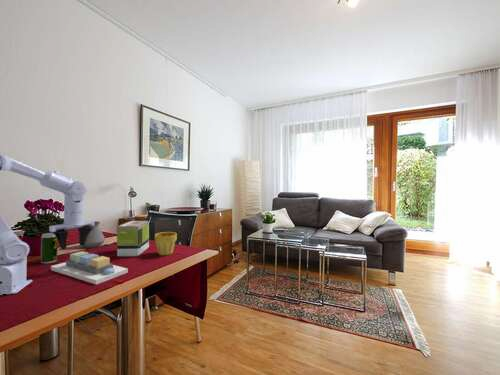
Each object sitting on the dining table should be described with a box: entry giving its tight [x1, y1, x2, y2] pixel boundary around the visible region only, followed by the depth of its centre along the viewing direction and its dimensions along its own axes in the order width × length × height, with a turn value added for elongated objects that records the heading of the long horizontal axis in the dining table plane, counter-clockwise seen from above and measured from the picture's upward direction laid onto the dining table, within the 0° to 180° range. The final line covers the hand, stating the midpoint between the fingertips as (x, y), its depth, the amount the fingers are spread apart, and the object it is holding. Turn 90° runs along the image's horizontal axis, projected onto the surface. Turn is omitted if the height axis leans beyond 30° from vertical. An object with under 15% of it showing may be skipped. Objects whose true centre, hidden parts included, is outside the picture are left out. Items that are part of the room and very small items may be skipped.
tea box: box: [116, 220, 150, 257], centre depth 114 cm, size 15×10×15 cm, turn 5°
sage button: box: [69, 251, 90, 262], centre depth 90 cm, size 4×4×3 cm
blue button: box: [80, 253, 100, 265], centre depth 88 cm, size 4×4×3 cm
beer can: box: [40, 232, 59, 265], centre depth 97 cm, size 5×5×12 cm
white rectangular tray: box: [50, 259, 129, 285], centre depth 88 cm, size 28×12×4 cm, turn 66°
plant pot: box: [154, 231, 178, 256], centre depth 112 cm, size 10×10×10 cm
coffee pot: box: [82, 220, 106, 249], centre depth 118 cm, size 21×12×15 cm, turn 35°
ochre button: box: [90, 255, 111, 268], centre depth 85 cm, size 4×4×3 cm
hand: (72, 247), depth 87 cm, fingers open, 6 cm apart
